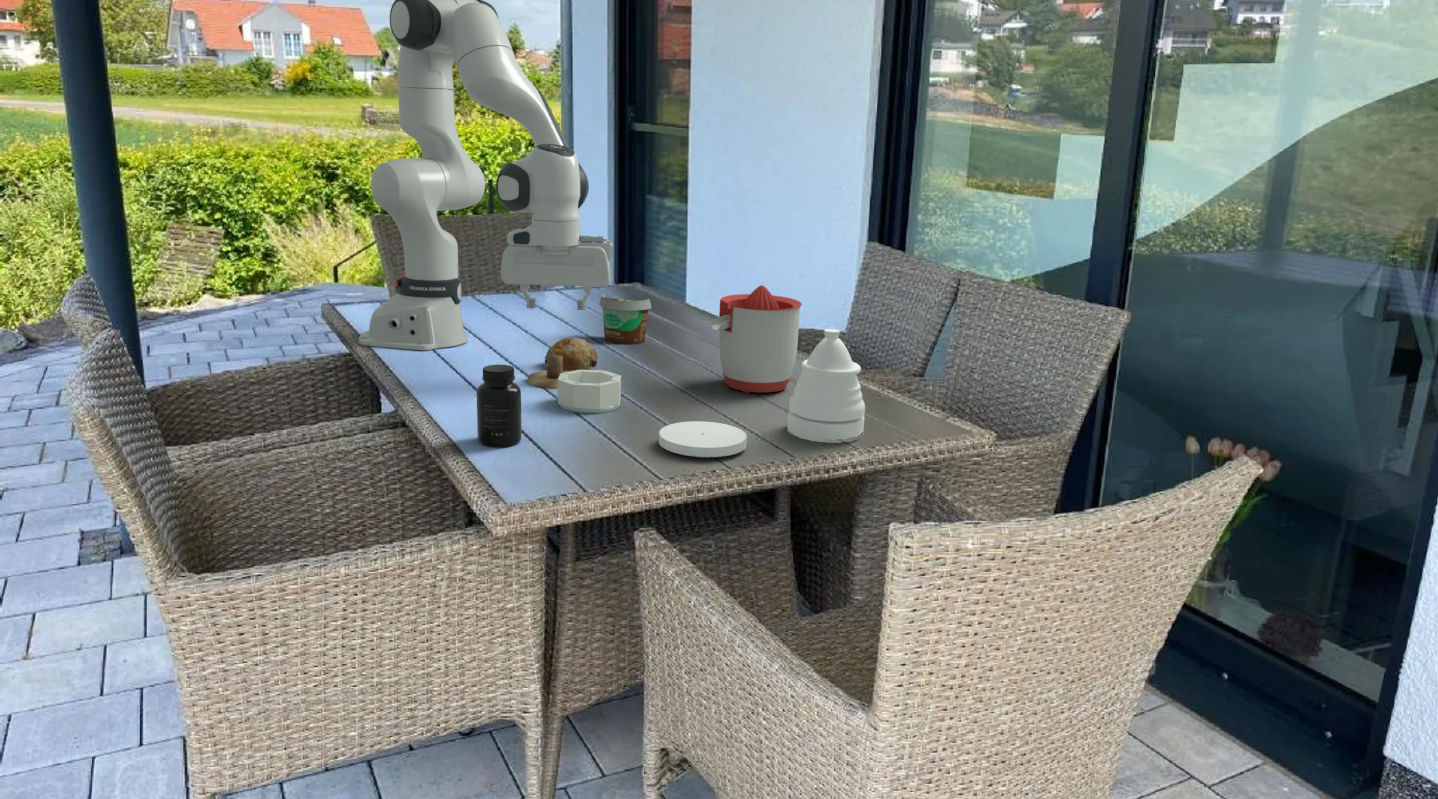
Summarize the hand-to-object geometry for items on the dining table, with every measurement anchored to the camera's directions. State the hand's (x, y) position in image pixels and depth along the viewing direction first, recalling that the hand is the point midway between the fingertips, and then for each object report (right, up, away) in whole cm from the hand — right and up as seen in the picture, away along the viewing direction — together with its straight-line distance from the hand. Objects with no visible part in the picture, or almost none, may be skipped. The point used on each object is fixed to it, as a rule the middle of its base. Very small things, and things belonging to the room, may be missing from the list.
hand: (556, 308), depth 203 cm
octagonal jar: (+7, -18, -10) cm, 22 cm away
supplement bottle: (-4, -24, -33) cm, 41 cm away
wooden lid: (-1, -14, +4) cm, 15 cm away
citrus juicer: (+37, -15, +7) cm, 41 cm away
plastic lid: (+28, -25, -31) cm, 48 cm away
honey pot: (+49, -23, -19) cm, 57 cm away
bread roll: (+1, -11, +16) cm, 19 cm away
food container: (+8, -4, +40) cm, 41 cm away
